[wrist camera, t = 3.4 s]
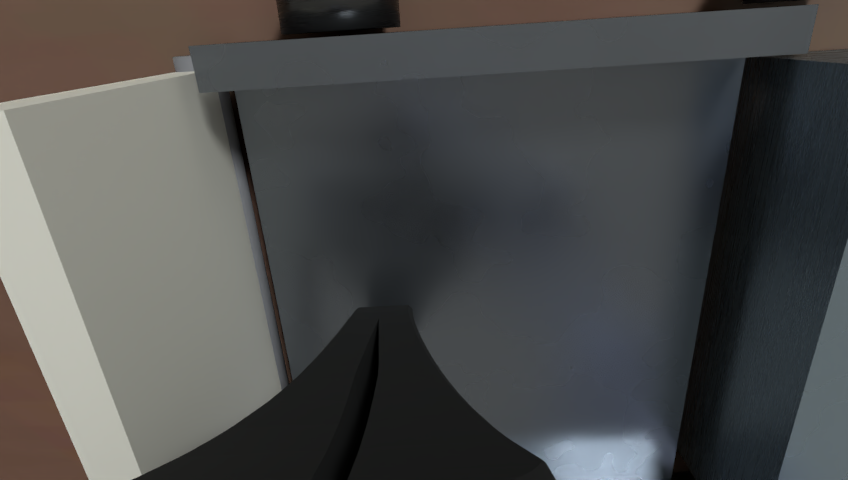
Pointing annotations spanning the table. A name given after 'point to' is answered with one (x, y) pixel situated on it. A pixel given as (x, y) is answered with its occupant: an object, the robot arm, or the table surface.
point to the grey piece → (572, 222)
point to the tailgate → (137, 266)
